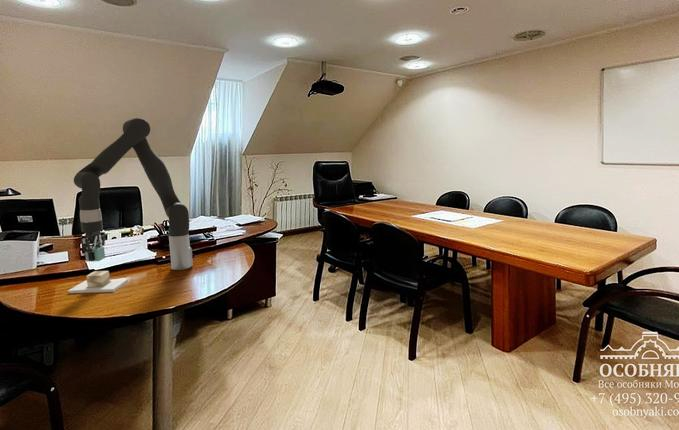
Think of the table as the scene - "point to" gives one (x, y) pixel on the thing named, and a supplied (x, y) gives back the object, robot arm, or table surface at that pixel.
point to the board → (109, 287)
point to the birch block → (98, 279)
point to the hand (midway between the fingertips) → (95, 258)
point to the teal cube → (97, 254)
